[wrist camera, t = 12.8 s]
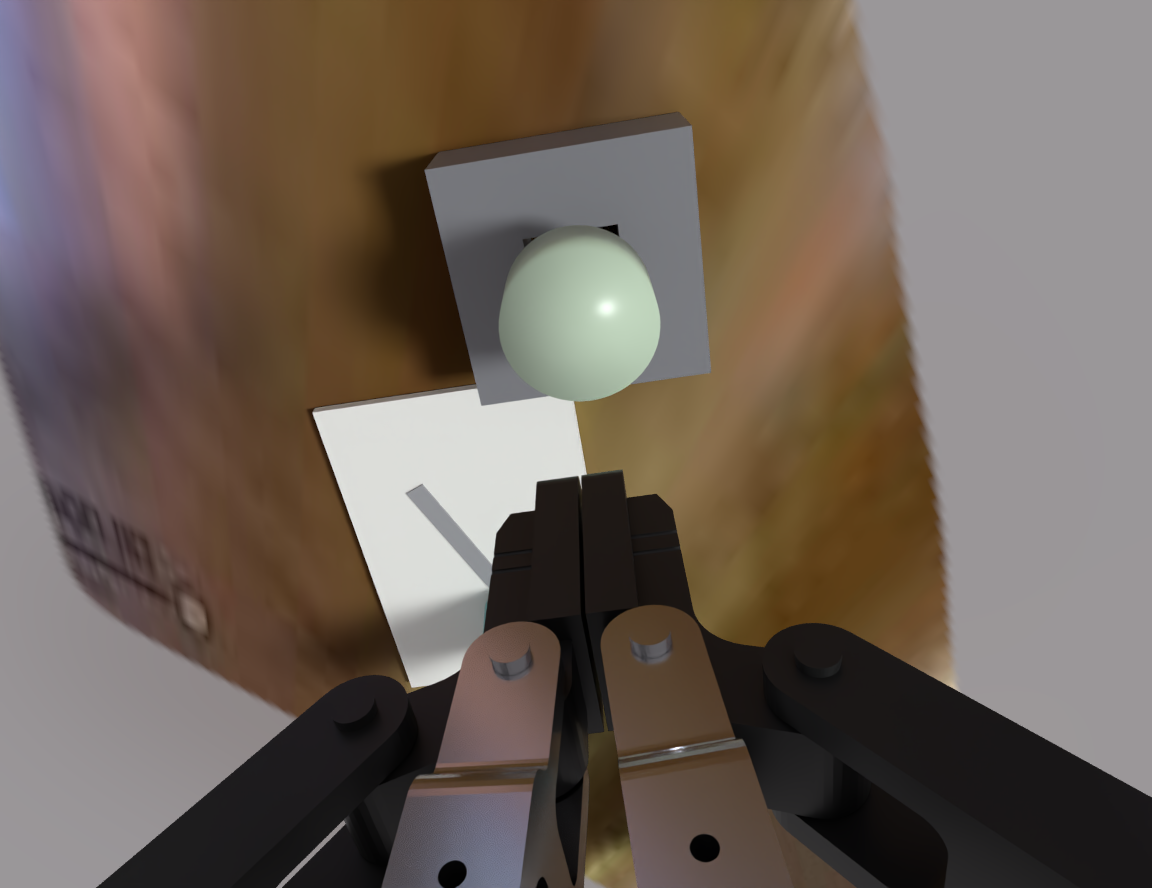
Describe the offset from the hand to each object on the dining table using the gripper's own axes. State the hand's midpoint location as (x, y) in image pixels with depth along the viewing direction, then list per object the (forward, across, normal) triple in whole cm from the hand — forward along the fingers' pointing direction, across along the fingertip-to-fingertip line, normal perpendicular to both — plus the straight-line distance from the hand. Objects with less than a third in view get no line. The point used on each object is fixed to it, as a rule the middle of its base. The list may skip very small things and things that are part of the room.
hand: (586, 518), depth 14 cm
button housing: (+16, 0, 0) cm, 16 cm away
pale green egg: (+14, 0, 0) cm, 14 cm away
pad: (+16, +6, +12) cm, 21 cm away
